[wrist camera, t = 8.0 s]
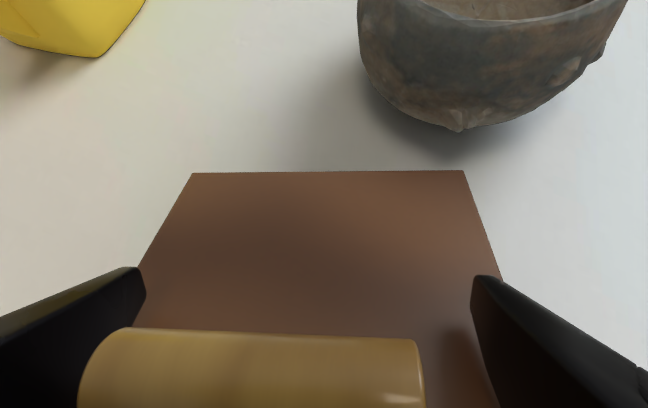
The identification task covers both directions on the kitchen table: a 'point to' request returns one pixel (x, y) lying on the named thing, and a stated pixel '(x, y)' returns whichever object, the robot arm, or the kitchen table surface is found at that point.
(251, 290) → the lid
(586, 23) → the bowl
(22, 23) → the teapot
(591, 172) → the kitchen table surface
